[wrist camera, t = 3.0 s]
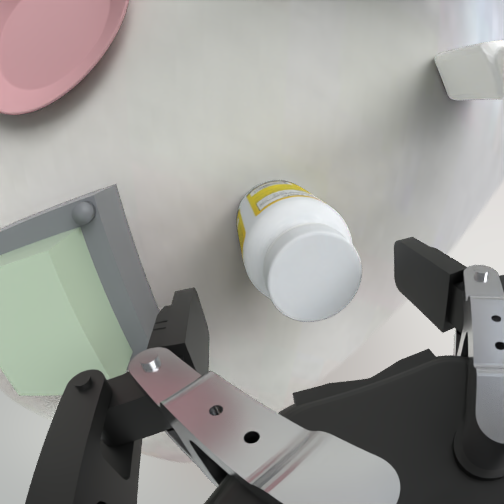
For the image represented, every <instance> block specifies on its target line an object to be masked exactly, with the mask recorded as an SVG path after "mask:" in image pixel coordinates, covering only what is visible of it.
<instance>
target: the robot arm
mask: <svg viewBox="0 0 504 504" xmlns="http://www.w3.org/2000/svg"><path fill="white" fill-rule="evenodd" d="M394 277H395V283H396V286H397V288H398V290H399V291H400V292H401V293H402V294H403V295H404V296H405V297H406V298H408V299H409V300H410V301H411V302H412V303H413V304H414V305H415V306H416V307H417V308H418V309H419V310H420V311H421V312H422V313H423V314H424V315H425V316H426V317H427V318H428V319H429V320H430V321H431V322H432V323H433V324H435V326H437V327H438V329H440V330H441V331H442V332H446V331H448V330H450V329H452V328H456V330H455V336H454V354H453V356H438V357H436V356H435V355H434V354H433V353H432V352H431V351H430V349H427V350H425V351H422V352H419V353H417V354H414V355H412V356H409V357H407V358H404V359H401V360H399V361H398V362H396V363H394V364H393V365H391V366H390V367H388V368H387V369H385V370H383V371H382V372H380V373H378V374H377V375H375V376H373V377H371V378H369V379H363V380H355V381H346V382H337V383H329V384H325V385H322V386H318V387H314V388H311V389H307V390H303V391H299V392H295V393H293V398H294V403H295V404H293V405H291V406H289V407H287V408H286V409H284V410H282V411H280V412H279V413H276V412H275V411H273V410H271V409H270V408H268V407H267V406H265V405H263V404H262V403H260V402H258V401H257V400H255V399H254V398H252V397H251V396H249V395H247V394H246V393H244V392H243V391H241V390H240V389H238V388H237V387H235V386H234V385H232V384H231V383H229V382H228V381H226V380H225V379H223V378H222V377H220V376H219V375H217V374H216V373H214V372H212V371H208V367H209V331H208V327H207V323H206V320H205V316H204V313H203V310H202V307H201V304H200V301H199V298H198V294H197V292H196V289H195V288H189V289H185V290H180V291H176V292H175V294H174V298H173V301H172V305H170V306H165V307H164V308H163V309H162V310H161V311H160V312H159V313H158V314H157V317H156V320H155V324H154V327H153V331H152V333H151V337H150V340H149V343H148V347H147V350H145V351H142V352H141V353H139V354H137V355H136V356H135V357H134V358H133V359H132V360H131V362H130V364H129V372H127V373H125V374H123V375H120V376H117V377H114V378H111V379H108V380H107V379H106V378H105V376H104V374H103V373H102V372H101V371H99V370H96V369H91V370H86V371H83V372H81V373H79V374H77V375H75V376H74V377H73V378H72V379H71V380H70V381H69V382H68V384H67V386H66V388H65V390H64V393H63V395H62V398H61V400H60V402H59V405H58V407H57V410H56V412H55V415H54V417H53V420H52V423H51V425H50V428H49V431H48V433H47V436H46V439H45V442H44V445H43V447H42V451H41V453H40V456H39V459H38V463H37V465H36V469H35V472H34V475H33V478H32V482H31V485H30V488H29V492H28V495H27V499H26V503H25V504H137V492H138V478H139V466H140V456H141V446H142V438H145V437H148V436H151V435H154V434H157V433H159V432H162V431H165V432H166V433H167V435H168V436H169V437H170V438H171V439H172V440H173V441H174V442H175V443H176V444H177V445H178V446H179V448H180V449H181V450H182V451H183V452H184V453H185V454H186V455H187V456H188V457H189V458H190V459H191V460H192V461H193V462H194V463H195V464H196V465H197V466H198V467H199V468H200V469H201V471H202V472H203V473H204V474H205V475H206V476H207V477H208V479H209V480H210V481H211V482H212V483H213V484H214V485H215V486H216V487H217V489H216V490H215V491H214V492H213V493H212V495H211V496H210V498H208V500H207V501H206V502H205V503H204V504H504V275H501V276H499V275H498V272H497V271H496V270H494V269H493V268H491V267H488V266H483V265H473V266H469V267H466V266H464V265H462V264H461V263H459V262H458V261H456V260H454V259H453V258H450V257H449V256H448V255H446V254H444V253H443V252H441V251H440V250H438V249H436V248H433V247H429V246H427V245H426V244H424V243H422V242H421V241H419V240H417V239H415V238H414V237H410V238H406V239H402V240H398V241H396V242H395V244H394Z"/></svg>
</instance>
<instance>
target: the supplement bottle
mask: <svg viewBox="0 0 504 504" xmlns="http://www.w3.org/2000/svg"><path fill="white" fill-rule="evenodd" d="M237 231H238V236H239V241H240V247H241V252H242V258H243V262H244V266H245V269H246V272H247V275H248V277H249V279H250V280H251V282H252V283H253V285H254V286H255V287H256V288H257V289H258V290H259V291H260V292H261V293H262V294H264V295H265V296H267V297H268V298H270V299H271V301H272V303H273V304H274V306H275V307H276V308H277V309H278V310H279V311H280V312H281V313H282V314H284V315H285V316H287V317H289V318H291V319H294V320H297V321H302V322H314V321H320V320H323V319H327V318H329V317H331V316H333V315H335V314H337V313H338V312H340V311H341V310H342V309H343V308H345V307H346V306H347V305H348V304H349V303H350V301H351V300H352V299H353V297H354V296H355V294H356V292H357V290H358V288H359V285H360V282H361V277H362V265H361V260H360V257H359V254H358V252H357V250H356V249H355V247H354V246H353V245H352V239H351V234H350V231H349V229H348V226H347V225H346V223H345V221H344V219H343V218H342V217H341V216H340V215H339V214H338V213H337V212H336V211H335V210H334V209H333V208H332V207H331V206H329V205H328V204H326V203H325V202H323V201H322V200H320V199H319V198H317V197H316V196H314V195H312V194H311V193H309V192H308V191H306V190H304V189H303V188H301V187H299V186H298V185H296V184H293V183H291V182H288V181H283V180H272V181H267V182H264V183H261V184H259V185H257V186H255V187H254V188H253V189H251V190H250V191H249V192H248V193H247V194H246V195H245V197H244V198H243V200H242V201H241V203H240V206H239V208H238V212H237Z"/></svg>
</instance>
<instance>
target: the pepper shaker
mask: <svg viewBox="0 0 504 504" xmlns="http://www.w3.org/2000/svg"><path fill="white" fill-rule="evenodd" d="M435 63H436V66H437V68H438V71H439V73H440V76H441V78H442V81H443V84H444V86H445V89H446V92H447V95H448V96H449V98H450V99H452V100H485V99H504V40H498V41H491V42H485V43H480V44H475V45H471V46H466V47H462V48H458V49H454V50H450V51H446V52H442V53H439V54H438V55H437V56H436V57H435Z"/></svg>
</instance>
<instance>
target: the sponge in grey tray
mask: <svg viewBox="0 0 504 504" xmlns="http://www.w3.org/2000/svg"><path fill="white" fill-rule="evenodd" d="M158 313H159V309H158V307H157V304H156V302H155V299H154V297H153V294H152V292H151V289H150V286H149V284H148V281H147V278H146V275H145V273H144V270H143V267H142V264H141V262H140V259H139V256H138V253H137V250H136V247H135V244H134V241H133V238H132V235H131V232H130V229H129V226H128V223H127V220H126V216H125V213H124V210H123V207H122V203H121V200H120V196H119V193H118V189H117V186H116V184H115V185H112V186H109V187H106V188H103V189H100V190H97V191H94V192H92V193H89V194H86V195H83V196H80V197H78V198H75V199H72V200H70V201H67V202H64V203H62V204H59V205H56V206H54V207H51V208H49V209H46V210H44V211H41V212H39V213H36V214H34V215H31V216H29V217H27V218H24V219H22V220H20V221H17V222H15V223H13V224H11V225H8V226H6V227H4V228H2V229H0V368H1V370H2V371H3V373H4V374H5V376H6V377H7V379H8V380H9V382H10V383H11V385H12V386H13V387H14V389H15V390H16V392H17V393H18V394H19V395H21V396H57V395H63V393H64V390H65V388H66V386H67V384H68V382H69V381H70V380H71V379H72V378H73V377H74V376H75V375H77V374H79V373H81V372H83V371H86V370H91V369H96V370H99V371H101V372H102V373H103V374H104V376H105V378H106V379H107V380H108V379H111V378H114V377H117V376H120V375H123V374H125V372H126V370H129V364H130V362H131V360H132V359H133V358H134V357H135V356H136V355H137V354H139V353H141V352H142V351H145V350H147V347H148V343H149V340H150V337H151V333H152V331H153V327H154V324H155V320H156V317H157V314H158Z"/></svg>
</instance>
